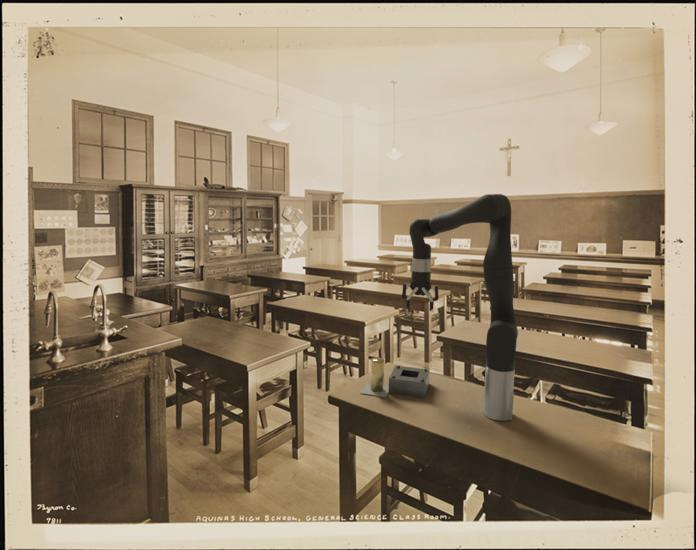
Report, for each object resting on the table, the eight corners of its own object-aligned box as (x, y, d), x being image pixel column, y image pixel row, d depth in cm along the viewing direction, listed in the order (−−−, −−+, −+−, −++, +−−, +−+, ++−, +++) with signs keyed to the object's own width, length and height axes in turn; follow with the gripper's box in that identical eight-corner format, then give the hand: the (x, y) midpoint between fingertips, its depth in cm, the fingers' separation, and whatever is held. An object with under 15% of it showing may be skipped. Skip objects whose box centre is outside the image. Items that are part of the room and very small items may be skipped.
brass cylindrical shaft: (384, 387, 160) (385, 358, 159) (381, 392, 156) (382, 362, 154) (372, 385, 162) (373, 356, 160) (369, 390, 157) (369, 360, 156)
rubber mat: (391, 386, 162) (391, 385, 162) (386, 397, 153) (386, 396, 153) (367, 383, 165) (367, 382, 165) (360, 393, 156) (360, 392, 156)
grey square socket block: (429, 383, 166) (429, 368, 165) (425, 398, 153) (426, 381, 152) (394, 379, 170) (395, 364, 169) (388, 393, 157) (388, 376, 156)
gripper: (440, 269, 163) (438, 309, 165) (404, 267, 167) (403, 306, 169) (438, 272, 156) (437, 313, 158) (401, 270, 160) (400, 310, 162)
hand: (419, 309), depth 164 cm, fingers open, 8 cm apart
